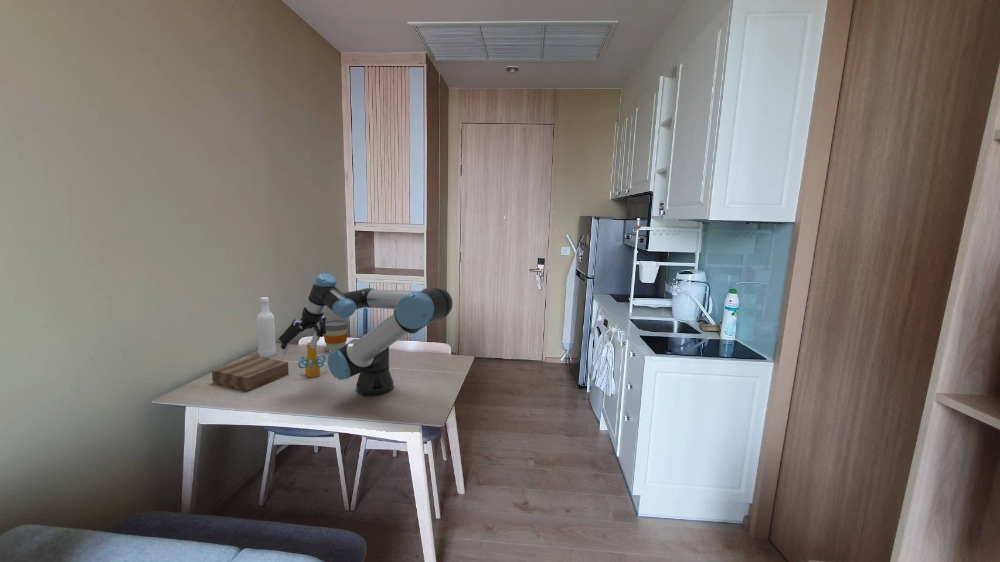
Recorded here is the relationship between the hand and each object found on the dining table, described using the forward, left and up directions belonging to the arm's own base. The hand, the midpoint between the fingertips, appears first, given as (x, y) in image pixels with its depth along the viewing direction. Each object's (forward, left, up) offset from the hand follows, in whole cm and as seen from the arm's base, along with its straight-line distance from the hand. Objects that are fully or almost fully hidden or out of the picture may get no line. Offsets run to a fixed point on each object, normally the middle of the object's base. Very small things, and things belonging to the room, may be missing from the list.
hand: (297, 350), depth 163 cm
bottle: (+46, -23, -16) cm, 53 cm away
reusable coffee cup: (+21, -44, -16) cm, 51 cm away
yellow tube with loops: (+5, -12, -16) cm, 20 cm away
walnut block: (+25, +2, -16) cm, 29 cm away
